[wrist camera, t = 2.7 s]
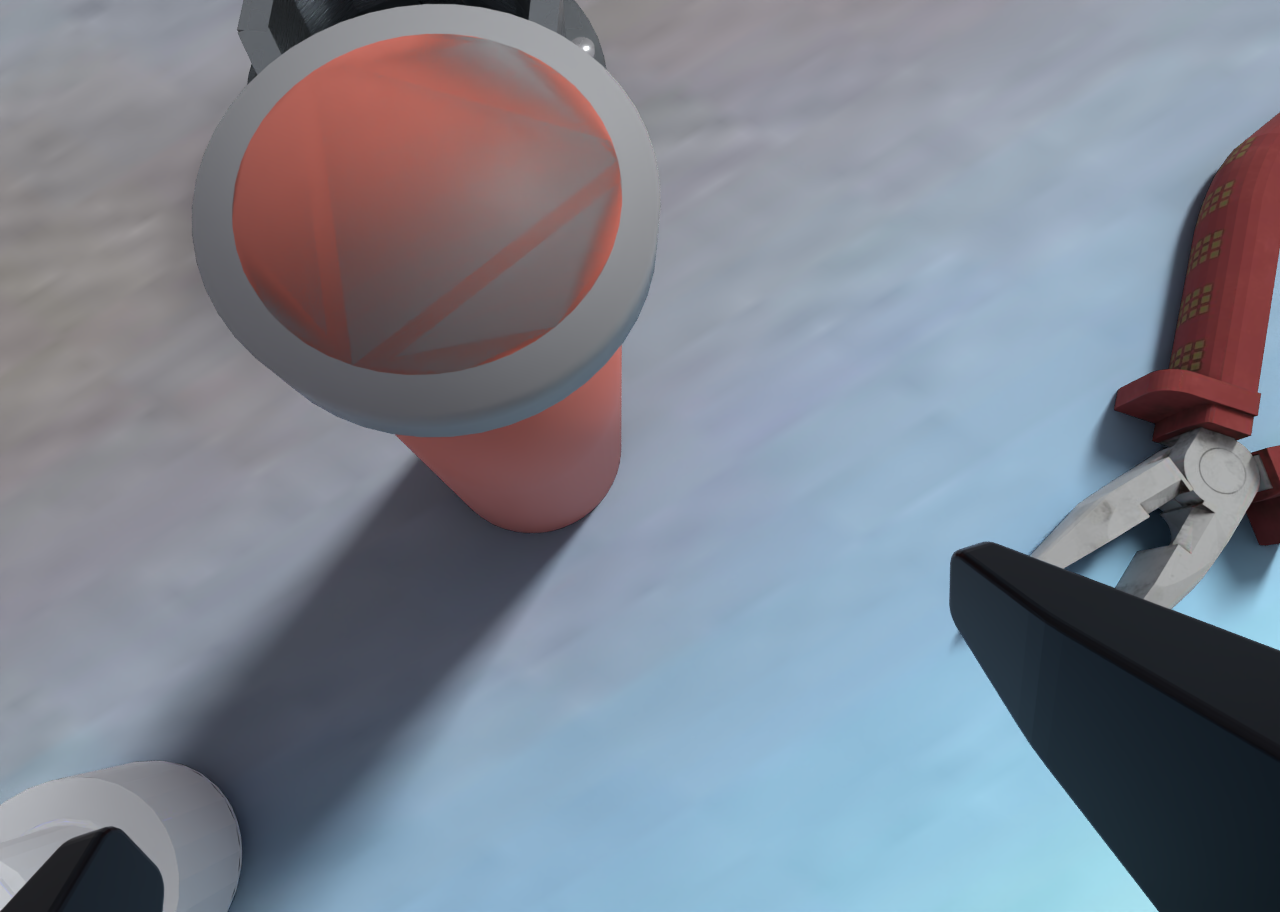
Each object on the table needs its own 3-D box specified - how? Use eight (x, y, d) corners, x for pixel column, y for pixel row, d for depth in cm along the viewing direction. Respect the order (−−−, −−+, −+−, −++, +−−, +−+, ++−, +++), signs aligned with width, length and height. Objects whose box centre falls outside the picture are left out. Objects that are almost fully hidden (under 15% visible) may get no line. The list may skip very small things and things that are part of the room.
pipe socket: (475, 327, 23) (445, 260, 19) (187, 148, 24) (104, 51, 20) (672, 67, 25) (682, -38, 21) (402, -82, 27) (365, -207, 23)
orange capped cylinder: (562, 592, 21) (483, 509, 9) (387, 476, 22) (91, 253, 9) (677, 418, 22) (746, 138, 10) (509, 314, 23) (385, -63, 11)
